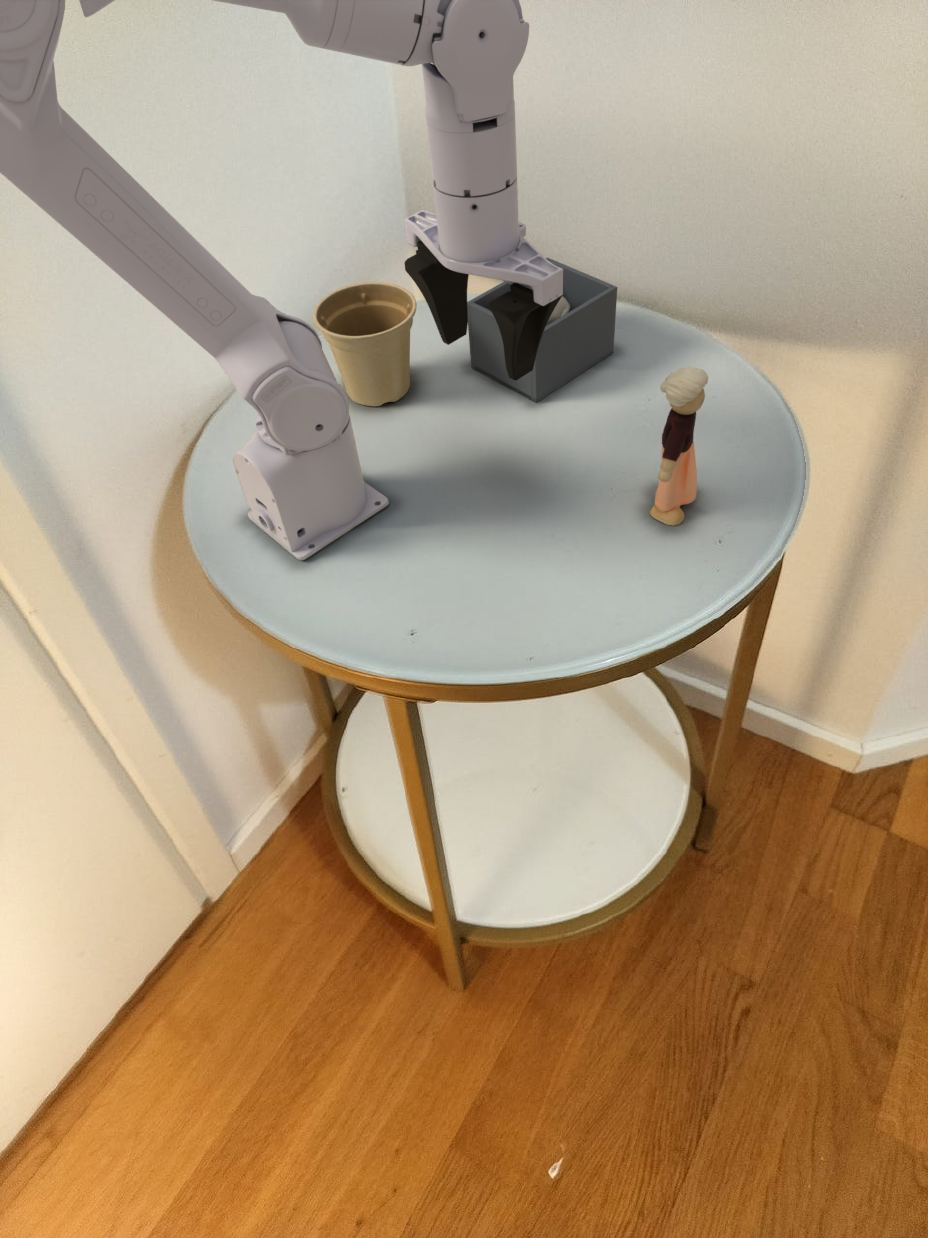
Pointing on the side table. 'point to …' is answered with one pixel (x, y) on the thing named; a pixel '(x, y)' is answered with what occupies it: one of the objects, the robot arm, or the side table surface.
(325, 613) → the side table surface
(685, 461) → the grandmother figurine
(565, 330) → the basket
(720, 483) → the side table surface
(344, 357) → the flower pot
